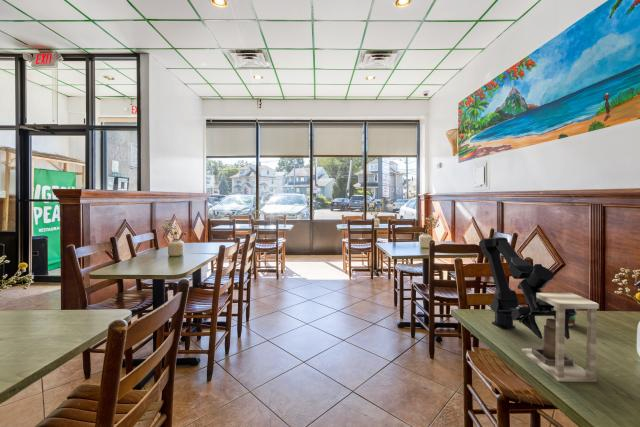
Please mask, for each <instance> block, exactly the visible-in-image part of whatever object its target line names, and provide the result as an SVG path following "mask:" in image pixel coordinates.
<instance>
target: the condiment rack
mask: <svg viewBox="0 0 640 427" xmlns="http://www.w3.org/2000/svg"><path fill="white" fill-rule="evenodd" d="M536 297H537V298H539V299H541V300H543V301H545V302H547V303H549V304H551V305H553V306H555V307H556V345H555V360H548V359H547V358H546V357H544V356H543V347H542V348H541V347H531V348H521V352H522V353H523V354H524V355H525V356H527V357H528V358H529V359H531V360H532V361H533V362H534V363H535V364H536V365H538V366H539V367H540V368H542V370H544V371H545V372H546V373H547V374H549V375H550V376H551V377H552V378H553V379H555V380H556V381H557V382H572V383H573V382H576V383H577V382H581V383H582V382H583V383H585V382H588V383H589V382H590V383H593V382H594V383H595V382H596V383H597V382H598V378H597V377H596V368H597V367H596V363H597V360H596V359H597V328H598V325H597V324H598V322H597V320H598V318H597V317H598V310H599V309H600V308H599V306H600V304H599V303H597V302H595V301H593V300H590V299H589V298H585V297H584V296H581V295H578V294H576V293H573V292H543V293H536ZM565 309H576V310H587V312H586V314H587V315H586V354H585V355H586V356H585V357H586V359H585V360H586V361H585V369H584V368H583V367H581V366H579V365H578V364H577V363H575V361H574V360H573V359H572V358H570V357H569V356H568V355H566V354H565V340H566V339H565V338H566V337H565Z"/></svg>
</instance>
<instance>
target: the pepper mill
mask: <svg viewBox="0 0 640 427" xmlns="http://www.w3.org/2000/svg"><path fill="white" fill-rule="evenodd" d="M545 323H546V324H544V326H543V345H542V346H543V347H542V348H543V356H544V357H546V358H547V359H548V360H555V345H556V320H555V319H554V318H546V319H545Z"/></svg>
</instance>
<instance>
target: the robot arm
mask: <svg viewBox="0 0 640 427" xmlns="http://www.w3.org/2000/svg"><path fill="white" fill-rule="evenodd" d="M478 246H479V247H480V250H481V252H482V254H483V255H484V256H485V257H486V258H487V259H488V263H489V267H490V271H491V275H492V279H493V283H494V285H495V286H494V287H495V292H494V294H493V300H492V301H491V303H490V310H492V311H493V312H494V321H491V324H493V325H495V326H497V327H498V328H500V329H502V330H505V329H514V328H516V327H517V326H516V325H514V322H515V321H518V322H519V323H520V324H523V325H524V326H525V327H527V329H529V330H530V331H531V332H532V333H533V334H534V335H536V336H537V338H538V339H539V340H542V339H544V336H543V335H542V332H541V330H540V328H539V325H538V323H537V321H536V317H553V318H554V317H555V319H556V310H552V309H553V308H554V307H555V306H553V305H551V304H549V303H547V302H545V301H543V300H541V299H539V298H537V297H536V293H544V292H543V290H542V289H543V288H545V287H546V286H547V285H548V284H549V283H550V282H551V281H552V280H553V279H554V274H553V272H552V271H551V270H550V269H549V268H548V267H545V266H544V265H543V264H542V263H535V264H534V265H533V264H531V262H529V261H528V260H525V259H523V258H522V257H521V256H520V255H519V254H518V253H517V252H516V250H515V249H514V248H513V247H512V245H511V244H510V243H509V240H508V238H507V237H504V236H503V237H502V236H500V237H483V238H481V240H480V241H479V244H478ZM501 257H503V259H504V260H505V261H506V263H507V265H508V271H509V273H510V274H509V275H510V276H511V277H512V278H513V279H514V280H521V281H519V282H518V285H517V290H521V292H522V293H523V295H524V298H525V300H524V303H525V304H528V306H519V305H520V302H519V299H518V297H517V293H516V291H515V290H513V289H511V288H510V287H509V284H508V280H507V276H506V273H505V269H504V266H503V262H502V259H501ZM575 315H578V314H577V310H576V311H575V309H565V338H566V339H565V340H569V339H570V327H569V319H571V318H572V317H573V316H575Z"/></svg>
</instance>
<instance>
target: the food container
mask: <svg viewBox="0 0 640 427" xmlns="http://www.w3.org/2000/svg"><path fill="white" fill-rule="evenodd" d="M552 309H553V310H556V307H554V308H552ZM575 311H576V312H577V309H575ZM576 315H577V314H576ZM576 315H575V316H573V317H572V318H571V319H569V328H574V327H575V326H576V317H577V316H576ZM553 319H555V317H554V316H553ZM555 320H556V319H555Z"/></svg>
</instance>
